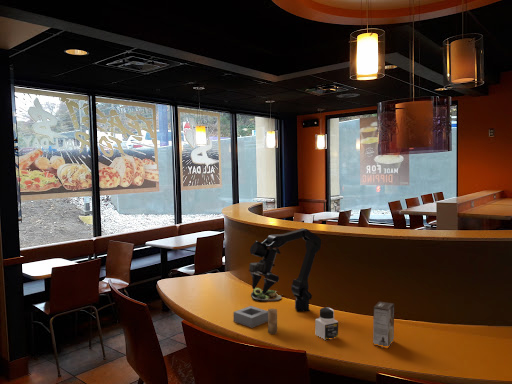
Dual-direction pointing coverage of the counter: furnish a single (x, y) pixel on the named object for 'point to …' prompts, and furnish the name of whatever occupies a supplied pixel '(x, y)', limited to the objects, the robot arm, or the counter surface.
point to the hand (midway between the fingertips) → (258, 291)
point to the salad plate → (264, 295)
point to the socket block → (251, 316)
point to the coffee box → (383, 323)
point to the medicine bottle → (326, 324)
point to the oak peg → (272, 321)
